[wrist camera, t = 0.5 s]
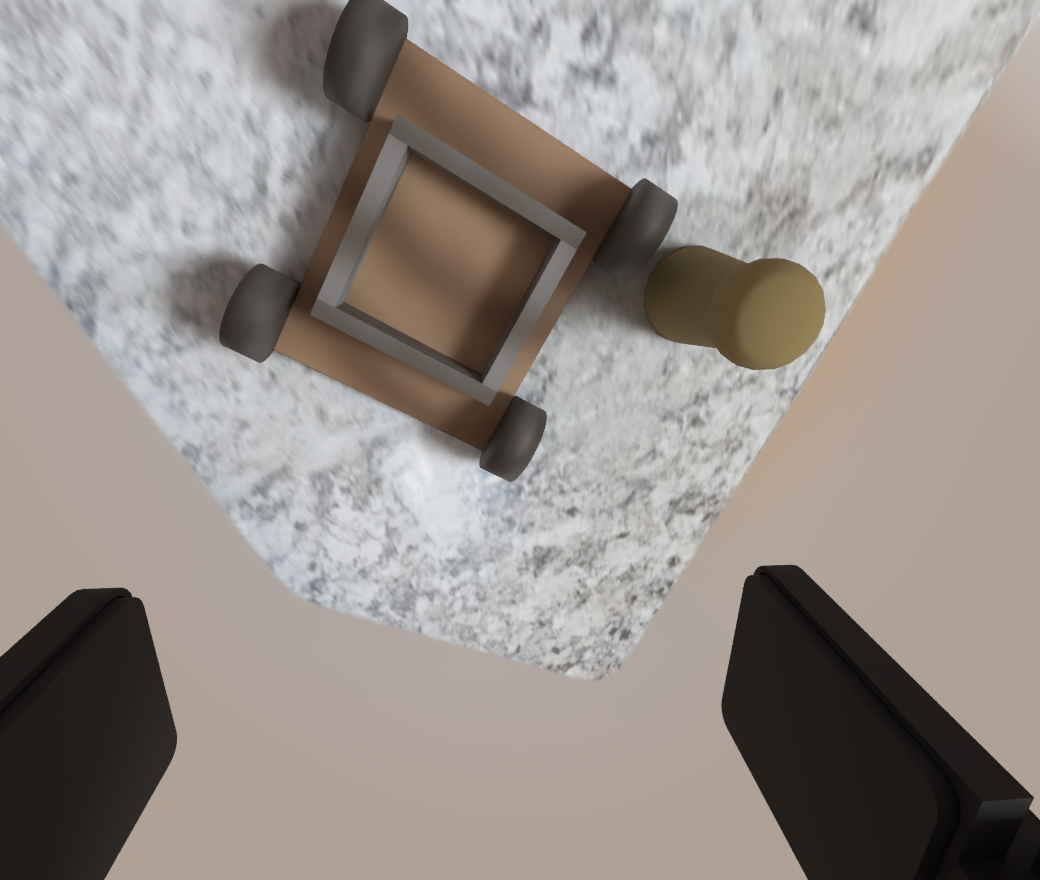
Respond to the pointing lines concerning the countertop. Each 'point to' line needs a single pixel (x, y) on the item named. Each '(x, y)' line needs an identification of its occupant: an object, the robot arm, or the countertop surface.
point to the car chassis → (444, 246)
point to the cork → (736, 306)
